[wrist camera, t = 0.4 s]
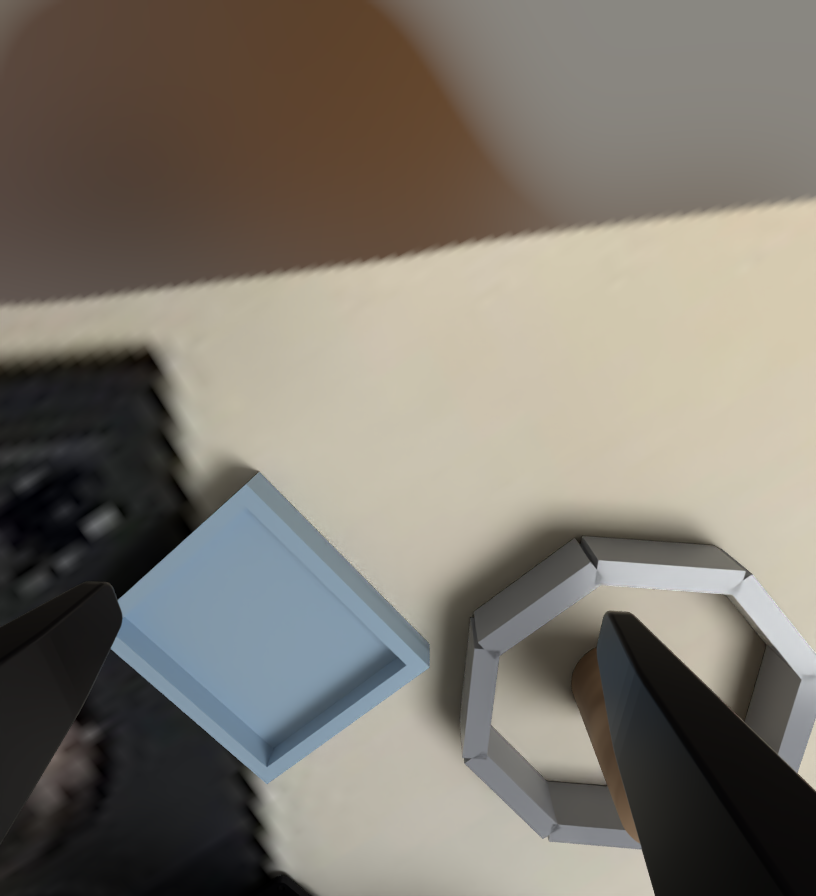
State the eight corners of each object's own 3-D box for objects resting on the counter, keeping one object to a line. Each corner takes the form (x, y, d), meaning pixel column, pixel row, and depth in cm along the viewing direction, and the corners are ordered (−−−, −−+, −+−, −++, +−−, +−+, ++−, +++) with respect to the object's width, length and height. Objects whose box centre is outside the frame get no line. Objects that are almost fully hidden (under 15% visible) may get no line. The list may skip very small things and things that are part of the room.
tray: (276, 755, 29) (267, 784, 27) (109, 607, 27) (87, 628, 25) (429, 644, 27) (429, 667, 25) (259, 471, 24) (246, 483, 23)
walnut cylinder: (608, 735, 28) (665, 872, 21) (552, 675, 27) (593, 798, 20) (686, 686, 27) (773, 814, 20) (630, 623, 26) (702, 733, 19)
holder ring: (585, 846, 30) (599, 893, 27) (401, 664, 27) (398, 699, 25) (841, 699, 26) (883, 738, 24) (661, 474, 24) (687, 493, 21)
